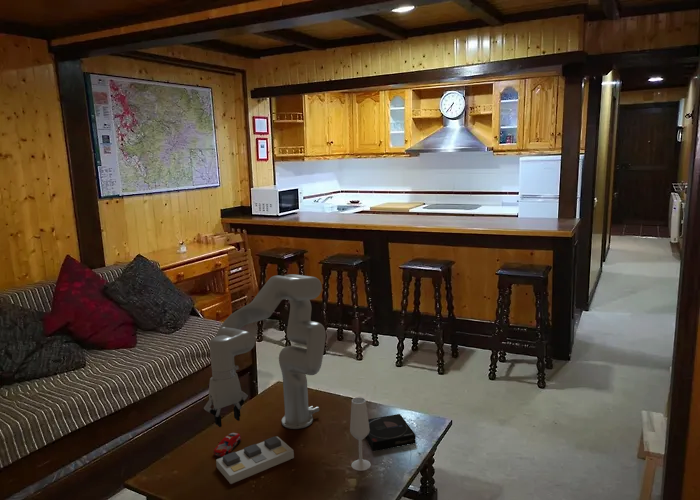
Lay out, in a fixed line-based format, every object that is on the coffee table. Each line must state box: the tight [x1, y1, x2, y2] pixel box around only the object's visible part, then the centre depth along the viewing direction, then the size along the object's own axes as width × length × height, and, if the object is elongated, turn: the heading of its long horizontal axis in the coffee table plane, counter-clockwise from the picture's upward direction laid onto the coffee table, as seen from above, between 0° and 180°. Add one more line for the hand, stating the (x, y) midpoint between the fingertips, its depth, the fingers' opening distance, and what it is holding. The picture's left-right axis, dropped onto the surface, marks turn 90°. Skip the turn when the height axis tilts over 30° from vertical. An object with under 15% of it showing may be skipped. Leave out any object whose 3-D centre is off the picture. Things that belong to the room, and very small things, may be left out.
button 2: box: [263, 436, 281, 450], centre depth 194 cm, size 4×4×3 cm
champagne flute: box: [349, 396, 372, 472], centre depth 182 cm, size 7×7×24 cm
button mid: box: [243, 443, 261, 458], centre depth 189 cm, size 4×4×3 cm
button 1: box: [223, 451, 240, 466], centre depth 185 cm, size 4×4×3 cm
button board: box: [215, 435, 295, 485], centre depth 188 cm, size 24×12×3 cm, turn 126°
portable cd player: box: [364, 413, 417, 452], centre depth 202 cm, size 16×17×4 cm
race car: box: [213, 432, 242, 458], centre depth 198 cm, size 13×5×4 cm, turn 158°
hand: (228, 421), depth 182 cm, fingers open, 5 cm apart
